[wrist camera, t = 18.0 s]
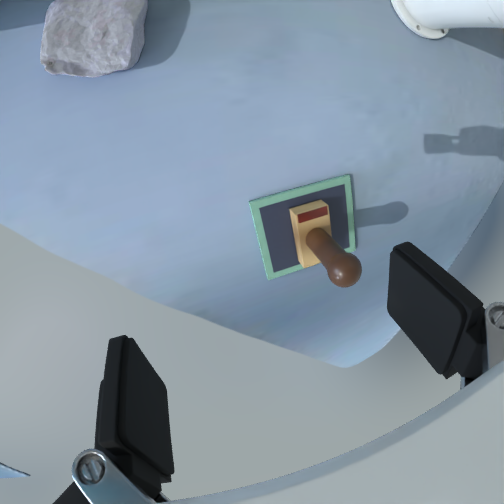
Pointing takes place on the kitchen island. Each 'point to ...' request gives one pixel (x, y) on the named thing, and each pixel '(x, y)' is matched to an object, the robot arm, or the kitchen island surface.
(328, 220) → the stamp
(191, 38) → the kitchen island surface
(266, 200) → the ink pad
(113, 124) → the kitchen island surface
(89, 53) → the stone block
